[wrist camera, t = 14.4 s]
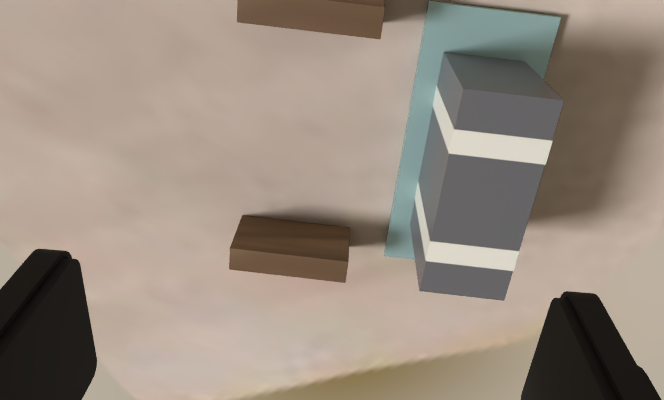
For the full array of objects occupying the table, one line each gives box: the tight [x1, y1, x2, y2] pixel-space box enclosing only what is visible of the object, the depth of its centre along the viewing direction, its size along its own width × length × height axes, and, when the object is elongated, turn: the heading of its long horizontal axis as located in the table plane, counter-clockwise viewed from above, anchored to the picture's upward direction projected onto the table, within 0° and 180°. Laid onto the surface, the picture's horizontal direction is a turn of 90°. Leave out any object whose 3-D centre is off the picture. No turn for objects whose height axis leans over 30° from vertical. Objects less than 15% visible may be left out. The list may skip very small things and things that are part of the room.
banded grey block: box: [410, 52, 564, 301], centre depth 31 cm, size 11×4×7 cm, turn 174°
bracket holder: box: [229, 0, 385, 283], centre depth 33 cm, size 16×7×4 cm, turn 174°
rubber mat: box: [384, 1, 561, 259], centre depth 35 cm, size 16×7×1 cm, turn 174°
